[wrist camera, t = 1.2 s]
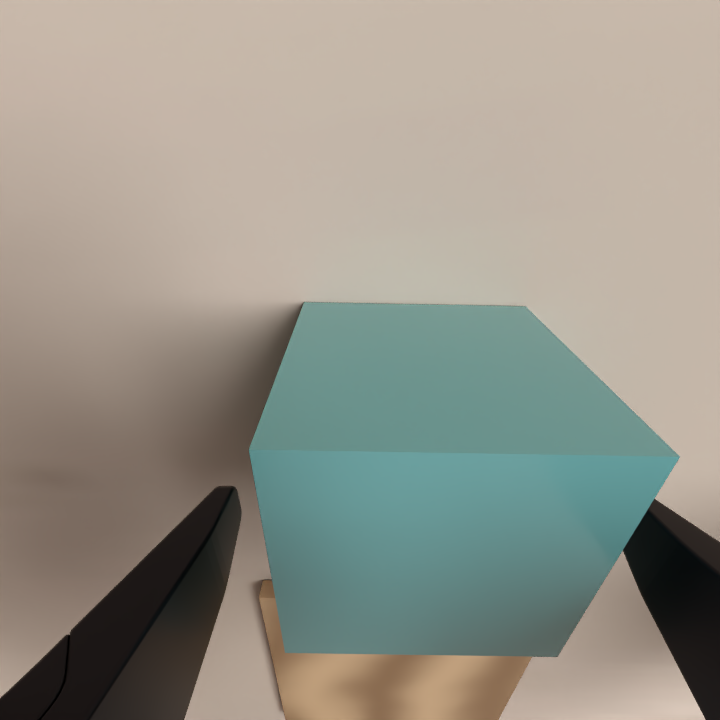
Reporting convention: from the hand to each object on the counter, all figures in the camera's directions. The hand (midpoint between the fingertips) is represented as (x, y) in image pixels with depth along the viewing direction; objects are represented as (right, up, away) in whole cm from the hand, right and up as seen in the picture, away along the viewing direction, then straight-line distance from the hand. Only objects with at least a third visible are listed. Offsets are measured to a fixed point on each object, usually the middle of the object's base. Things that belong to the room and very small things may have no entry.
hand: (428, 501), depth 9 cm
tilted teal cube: (0, +2, +4) cm, 4 cm away
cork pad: (+1, -14, +13) cm, 19 cm away
